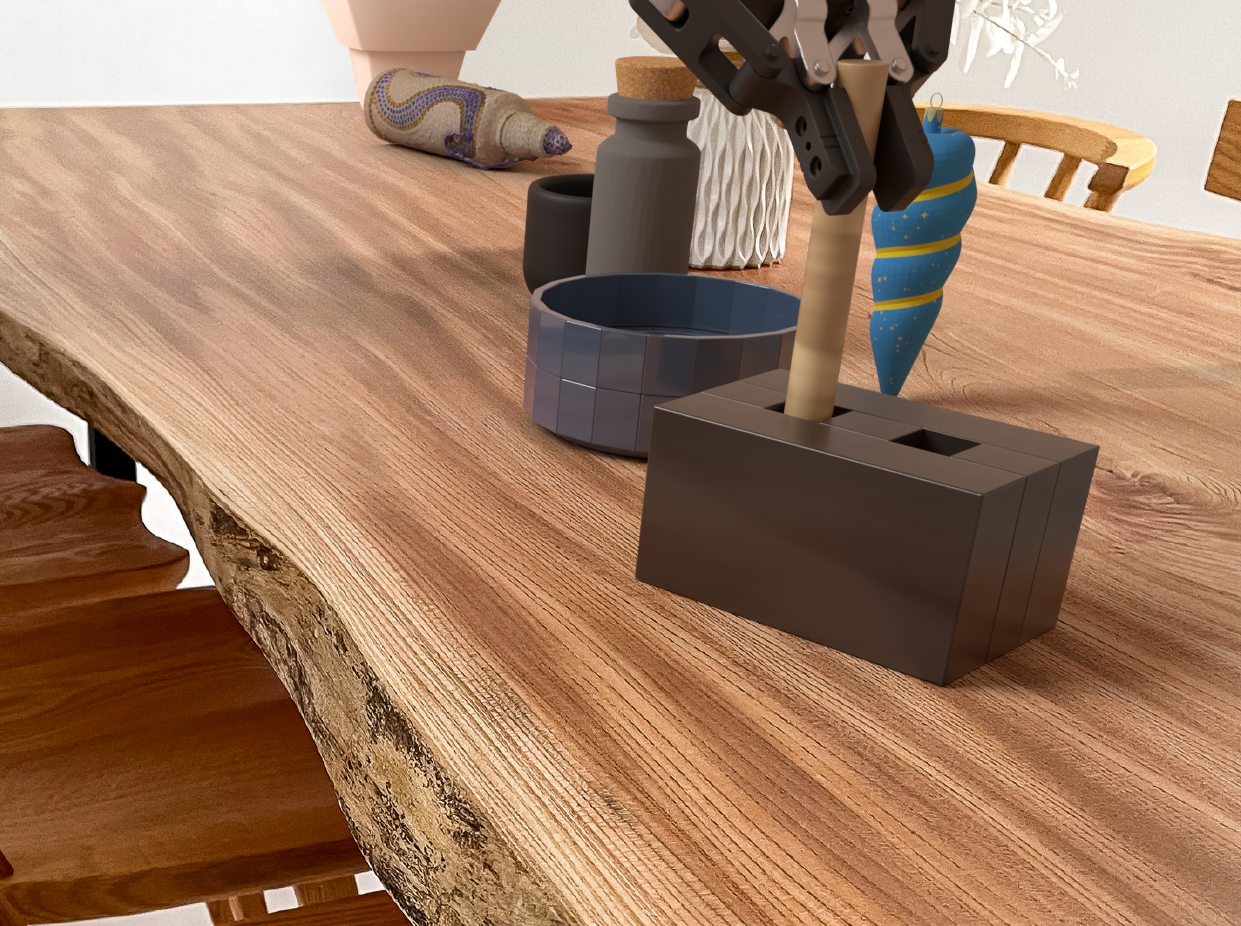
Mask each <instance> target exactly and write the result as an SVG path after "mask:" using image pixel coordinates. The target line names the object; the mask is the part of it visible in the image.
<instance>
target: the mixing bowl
mask: <svg viewBox="0 0 1241 926" xmlns="http://www.w3.org/2000/svg"><path fill="white" fill-rule="evenodd" d="M801 295H802V294H798V293H795V292H792V291H789V290H787V289H784V288H780V287H778V286H774V285H770V284H765V283H761V282H760V283H759V282H755V281H749V280H746V279H739V278H733V277H724V276H716V275H710V274H709V275H708V274H700V273H688V274H687V273H669V272H613V273H602V274H591V275H581V276H575V277H571V278H566V279H561V280H556V281H552V282H550V283H548V284H546V285H544V286H542V287H539V288H537V289H535V290H534V293H533V295H532V294H531V298H530V301H529V313H528V314H529V315H528V329H527V343H526V344H527V345H526V359H525V373H524V386H523V401H522V408H523V410H524V412H525V413H526V414H527V416H528V417H529V418H530V419H531V421H532V422H533V423H535V424H537V425H539V426H541V427H542V428H545V429H547V430H548V431H551V432H552V433H553V434H554V435H556V436H557V437H560V438H561V439H563V440H565V441H567V442H571V443H573V444H575V445H578V446H582V447H585V448H588V449H591V450H595V451H599V452H604V453H609V454H614V455H619V456H625V457H633V458H641V459H648V454H649V444H650V435H651V426H652V417H653V408H654V406H655V405H659V404H662V403H665V402H669V401H672V400H676V399H679V398H682V397H686V396H689V395H693V394H696V393H700V392H702V391H705V390H708V389H712V388H715V387H719V386H722V385H725V384H729V383H732V382H736V381H739V380H742V379H745V378H749V377H752V376H756V375H759V374H763V373H766V372H769V371H773V370H776V369H784V370H788V371H790V369H791V362H792V355H793V348H794V342H795V335H796V328H797V322H798V315H799V308H800V301H801Z"/></svg>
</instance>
